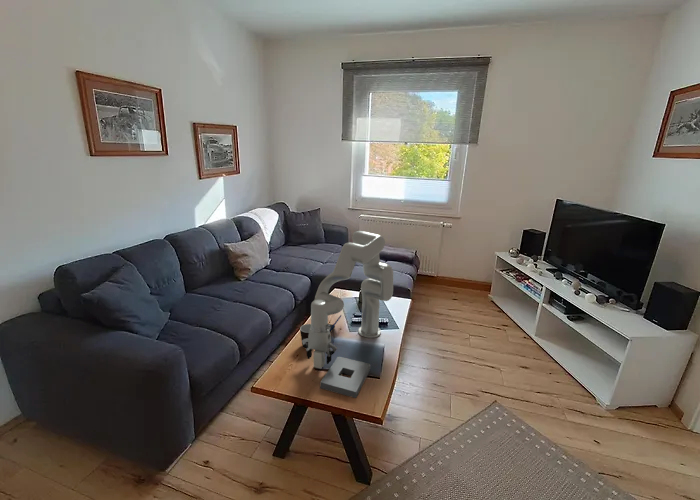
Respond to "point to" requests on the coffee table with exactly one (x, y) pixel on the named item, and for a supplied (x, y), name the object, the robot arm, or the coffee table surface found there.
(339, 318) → the handheld game console
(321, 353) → the plug
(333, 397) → the coffee table surface
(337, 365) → the socket plate
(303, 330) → the coffee mug
